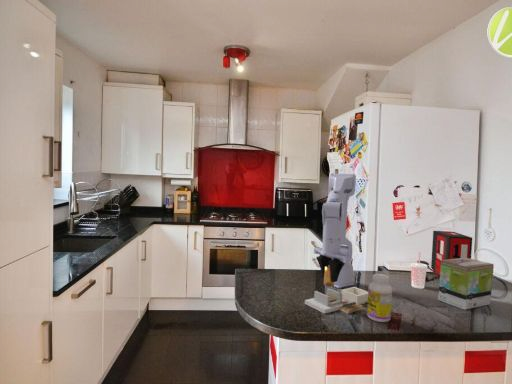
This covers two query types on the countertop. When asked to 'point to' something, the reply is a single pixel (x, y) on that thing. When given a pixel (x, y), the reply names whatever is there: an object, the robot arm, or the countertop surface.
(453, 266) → the tea box
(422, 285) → the beverage cup
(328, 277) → the cell
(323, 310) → the white compartment tray
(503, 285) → the countertop surface
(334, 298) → the pad
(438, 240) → the cleaning product box
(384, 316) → the supplement bottle
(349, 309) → the trough
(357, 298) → the white square open box
